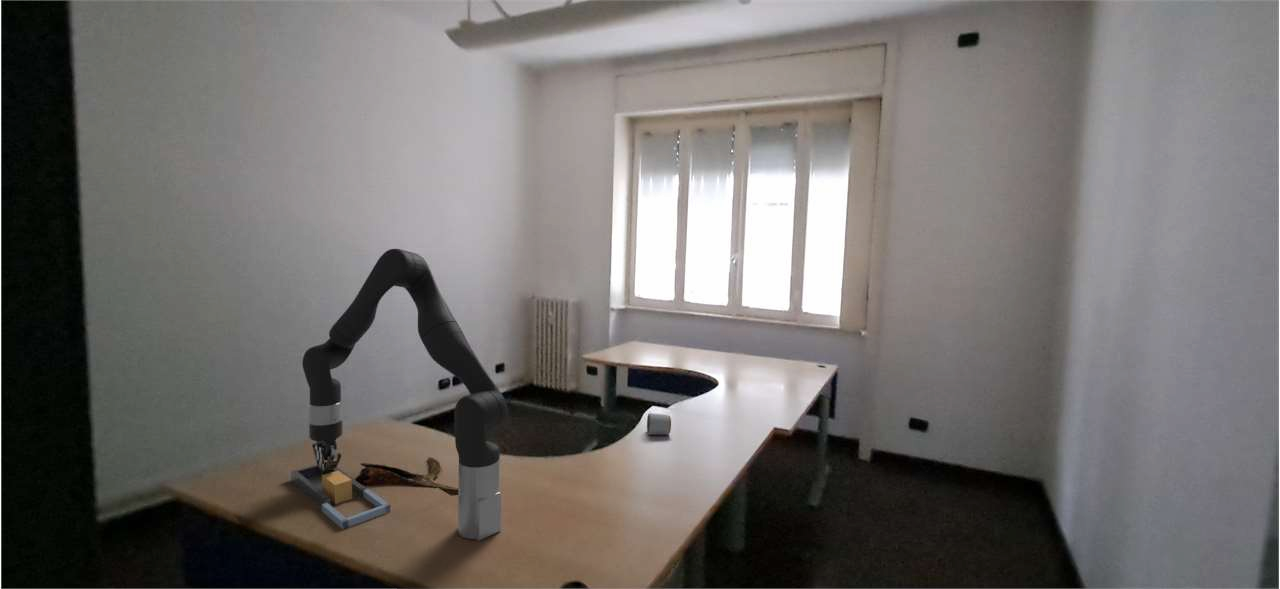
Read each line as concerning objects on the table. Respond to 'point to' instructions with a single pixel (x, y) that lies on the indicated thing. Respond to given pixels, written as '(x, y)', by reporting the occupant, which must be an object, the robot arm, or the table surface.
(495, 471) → the robot arm
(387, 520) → the table surface
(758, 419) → the table surface
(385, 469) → the dark wooden branch
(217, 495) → the table surface
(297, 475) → the rail
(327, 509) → the tray
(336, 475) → the tan cardboard cube
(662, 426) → the grey cylinder
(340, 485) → the cardboard box
